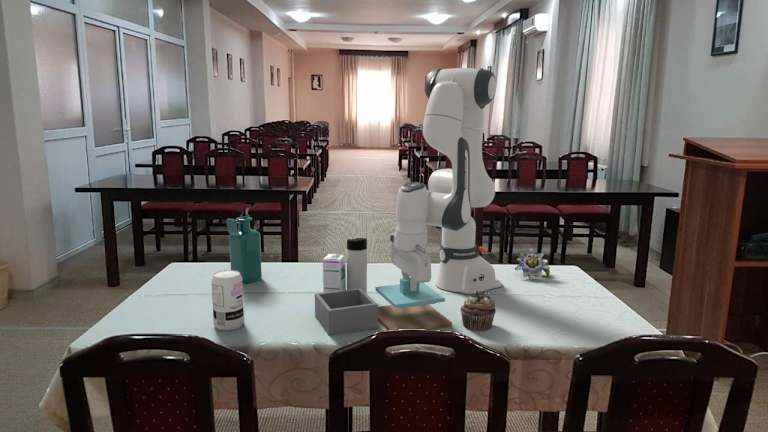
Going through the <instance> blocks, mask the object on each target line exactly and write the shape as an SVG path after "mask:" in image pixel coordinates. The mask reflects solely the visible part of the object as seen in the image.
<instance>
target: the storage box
mask: <svg viewBox="0 0 768 432" xmlns="http://www.w3.org/2000/svg"><path fill="white" fill-rule="evenodd" d="M378 305H379V304H378V303H377V302H376V301H375V300H374V299H373V298H372V297H370V295H369V294H368V293H367V294H366V293H365V292H364V291H363V290H362V289H361V288H357V289H348V290H347V289H346V290H340V291H332V292H324V293H323V292H316V293H314V317H315V319H316V320H317V322H318V323H319V324H320V325H321V327H322V328H323V330H324V331H325V332H326V333H327V335H328V336H333V335H340V334H348V333H353V332H360V331H366V329H368V330H373V329H372V328H375V329H378V320H377V315H378V307H379V306H378Z"/></svg>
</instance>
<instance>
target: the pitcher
mask: <svg viewBox="0 0 768 432" xmlns="http://www.w3.org/2000/svg"><path fill="white" fill-rule="evenodd" d="M252 220H253V217H250V216H239V217H236V219H234V218H226V221H225V222H226V226H227V227H226V229H227V232H228V234H229V237H228V240H229V257H230V258H229V261H230V270H235V271H238V272H240V275H241V276H242V283H243V285H245V284H251V283H254V282H257V281H260V280H261V279H262V275H263V274H262V248H261V246H262V245H261V234H260V232H259V231H257V230H255V229H252V228H251V226H250V225H251V223H250V221H252Z"/></svg>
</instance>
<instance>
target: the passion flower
mask: <svg viewBox="0 0 768 432" xmlns="http://www.w3.org/2000/svg"><path fill="white" fill-rule="evenodd" d="M516 257H517V258H516V259H515V260H516V261H517V262H519V265H517V266H516V267H514V270H515V271H521V270H522V276H523V277H524V278H526V277H528V278H529V280H530V281H532V280H533V279H534V277H535V275H536V276H537V277H540V278H541V277H542V276H543V272H544V273H545V275H546V276H547V277H549V276H550V272H551V271H550V268H551V267H550V265H549V264H548V263H549V262H548V260H547V259H544V258H543V257H544V252H541V253H538V254H537V253H535V250H534V249H533V248H532V247H530V248H529V249H528V251H526V252H524V253H522V252H519V254H516Z"/></svg>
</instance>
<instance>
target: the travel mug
mask: <svg viewBox="0 0 768 432" xmlns="http://www.w3.org/2000/svg"><path fill="white" fill-rule="evenodd" d="M367 245H368V238H364V237H356V238H353V239H352V238H347V240H346V290H348V289H357V288H361V289H362V290H363V291H364V292H365V293H366V294H367V295H368V290H367V289H368V288H367V287H368V283H367V281H368V280H367V279H368V246H367Z"/></svg>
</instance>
